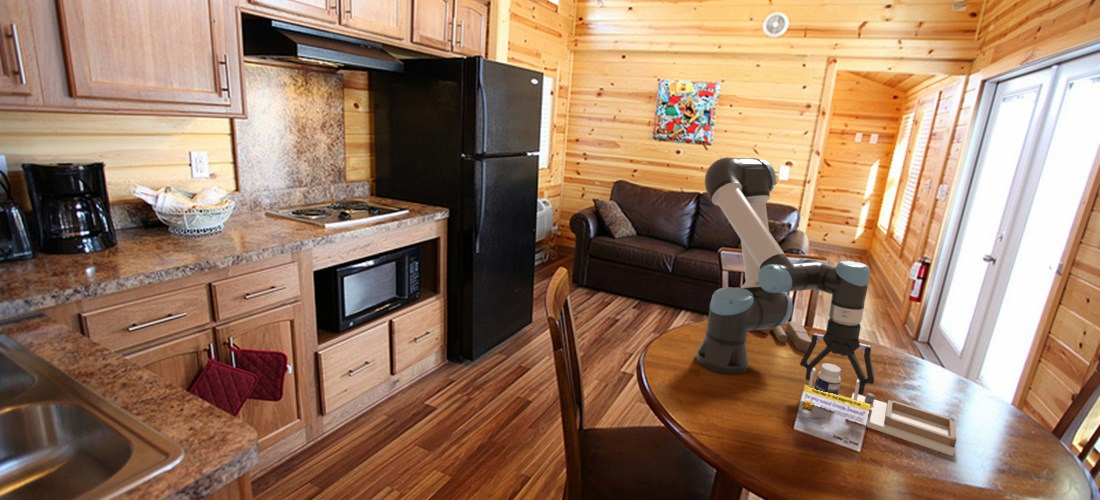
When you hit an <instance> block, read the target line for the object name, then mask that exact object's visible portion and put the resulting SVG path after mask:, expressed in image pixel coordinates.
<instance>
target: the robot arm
mask: <svg viewBox="0 0 1100 500" xmlns="http://www.w3.org/2000/svg"><path fill="white" fill-rule="evenodd" d="M776 178H777V175H776V171H775V169H774V167H773V166H772V164H771V163H769V162H768V161H767V160H764V159H761V158H755V157H751V158H750V157H749V158H747V157H743V158H742V157H723V158H719V159H717V160H715V161H714V162H713V163H711V164H710V166H709V167H708V168H707V171H706V172H705V176H704V187H705V192H706V193H707V196H708V197H709V199H710V200H711V202H712V204H714V206H718V207H719V208H720V210H721V211H722V212H723V215H724V216H725V217H726V219H727V221H728V222H729V224H731V225H730V226H732V228H733V230H734V231H735V233H736V234H737V236H738V237H739V239H740V243H741V244H740V245H741V251H742V260H743V268H744V278H745V282H744V284H743V285H742V286H741V287H737V286H736V287H733V286H728V287H721V288H718V289H716V290H715V291H714V292H713V293H712V296H711V300H710V303H709V311H708V317H707V318H708V319H707V323H706V324H707V325H706V331H705V336H704V338H703V340H702V342H701V343H700V344H699V345H700V346H699V348H698V349H697V352H696V358H695V359H696V361H697V363H699V364H700V366H702V367H704V368H706V369H707V370H709V371H712V372H715V373H718V374H723V375H740V374H744V373H745V372H747V370H748V367H749V357H748V351H747V347H746V341H747V337H748V332H749V331H758V330H759V329H766V328H770V329H772V328H775V327H778V326H781V327H782V326H783V325H785V324H787V323H788V322H789V320H790V319H791V317H792V313H793V309H794V308H793V301H792V299H791V296H790V295H788V293H789V292H797V291H800V292H801V291H808V290H809V291H810V290H818V291H820V292H824V293H827V294H829V295H830V294H831V300H830V305H829V313H828V316H829V318H828V319H827V323H826V324H827V325H826V332H825V334H819V332H813V334H812V335H811V340H812V341H811V344H810V346H809V348H808V350H807V351H806V353H805V352H804V353H805V354H804V355H803V357H802V359H801V360H800V363H799V365H800V366H801V367H804V368H805V369H806V372H805V380H806V381H809V382H808V387H810V388H813V389H814V384H815V383H814V382H815V377H816V376H815V375H816V370H817V369H816V368H815V367H816V366H817V365H818V364H819V363H820V362H821V361H822V360H823V359H824V358H825V357H826V356H827V355H829V354H830V353H832V354H835V355H836V354H837V355H840V356H842V357H846V356H847V359H848V360H849V362H850V364H851V366H852V368H853V370H854V373H855V374H856V376H857V379H856V383H855V389H854V392H853V393H854V399H853V400H856V401H857V397H858V395H862V396H864V392H865V387H866V385H867V384H870V385H873V384H874V383H875V373H874V368H873V367H874V366H873V362H872V356H871V352H872V347H873V346H872V345H871V344H870V343H869V344H864V343H861V342H860V333H861V327H862V325H861V323H862V322H863V317H864V312H865V311H864V310H865V304H866V303H865V301H866V297H867V293H868V289H869V288H868V287H869V284H870V274H871V273H870V272H871V269H870V266H868V265H867V264H864V263H863V262H858V261H857V262H856V261H851V260H840V261H838V262H837V264H836V265H833V264H831V263H827V262H823V261H822V262H821V261H819V260H817V259H813V258H812V259H810V258H807V257H805V258H803V257H802V258H800V259H799V260H798V261H796V262H791V261H790V258H788V257H787V255H786V254H785V253H784V251H783V249H782V248H781V246H780V244H779V243H778V242H777V241H776V239H775V238H774V237H773V235H772V233H771V232H770V228H769V226H770V225H769V220H768V212H767V202H768V201H769V200H770V198H771V192H772V191H773V190H774V186H775V185H776V182H777V181H776V180H777V179H776ZM822 340H823V342H824V344H825V347H824V348H822V350H821V351H820V353H818V354H817V355H816V356H815V357H814V358H813V359H812V360H811V361H810V362H809V361H808V359H809V358H810V356H811V354H812V353H813V351H814V349H815V347H816V345H817V344H818V343H820V342H821V341H822ZM858 349H859V350H861V351H860V352H861V353H862V354H864V355H863V359H864V364H865V370H866V375H865V373H864V371H863V369H862V367H861V365H860V362H859V360H858V358H857V355H856V353H855V351H856V350H858Z"/></svg>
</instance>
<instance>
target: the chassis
mask: <svg viewBox="0 0 1100 500" xmlns="http://www.w3.org/2000/svg"><path fill="white" fill-rule="evenodd" d="M854 393H855V392H853V393H852V395H851V399H854ZM875 397H876V396H875V394H873V393H870V392H867V393H865V396H864V395H860V394H858V397H857V401H861V402H864V403H868V404H870V406H871V408H870V409H869V414H868V420H867V428H869V429H873V430H874V431H875V430H876V431H879V432H881V433H884V434H887V435H890V436H892V437H896V438H899V439H902V440H905V441H906V442H910V443H913V444H916V445H919V446H922V447H924V448H928V449H930V450H934V451H936V452H939V453H942V454H945V455H949V456H951V457H954V455H955V446H956V443H957V440H958V439H957V433H956V431H957V430H956V423H955V422H956V421H955V419H953V418H950V417H947V416H944V415H940V414H938V413H934V412H933V411H932V412H931V411H927V410H925V409H921V408H919V407H915V406H912V405H908V404H905V403H902V402H899V401H896V400H892V399H890V398H888V400H887V401H886V402H887V403H886V402H884V401H880V400H877V399H875ZM851 399H850V400H851Z"/></svg>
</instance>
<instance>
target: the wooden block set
mask: <svg viewBox="0 0 1100 500" xmlns="http://www.w3.org/2000/svg"><path fill="white" fill-rule="evenodd" d="M786 324H787V325H786V328H785V329H784V328H783V327H782V326H778V327H775V328H766V329H759V331H758V332H760V331H761V333H763V332H764V334H765V333H766V335H768V334H769V333H770V329H771V330H772V332H773V334H774V335H775V337H776V338H777V341H778V342H779V343H781V342H782V343H781V344H785V343H788V340H789V339H791V340H790V341H792V342H791V343H793V344H794V347H795V348H796V349H797V350H799V351H800V350H801V352H803V353H806V351H807V350H808V348H809V346H810V344H811V341H812V338H811V337H810V336H809V335H808V334H809V333H808V331H807V330H806V328H805V327H804V325H803V324H802V323H801V322H795V321H787V322H786ZM788 336H789V337H788Z"/></svg>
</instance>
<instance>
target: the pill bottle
mask: <svg viewBox="0 0 1100 500" xmlns="http://www.w3.org/2000/svg"><path fill="white" fill-rule="evenodd" d="M841 372H842V369H841V367H839V366H838V365H836V364H833V363H825V362H824V363H822V364H821V366H820V371H819V372H817V375H816V380H815V383H814V387H813V390H814V389H816V390H820V391H823V392H828V393H833V394H836V395H838V396H839V391H840V388H841V387H840V386H841V383H842V382H841V381H842V378H841Z"/></svg>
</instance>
